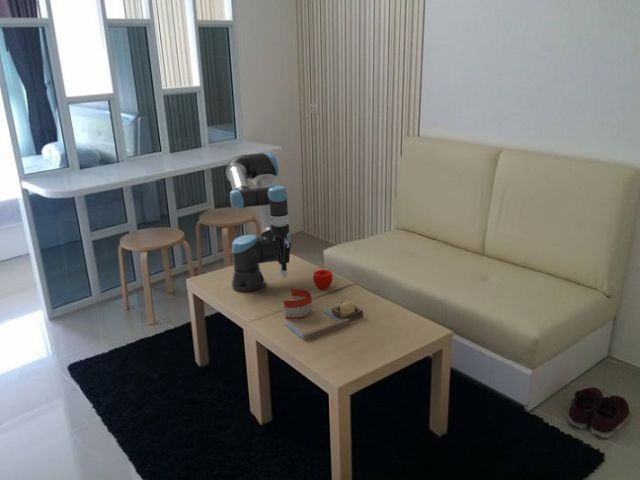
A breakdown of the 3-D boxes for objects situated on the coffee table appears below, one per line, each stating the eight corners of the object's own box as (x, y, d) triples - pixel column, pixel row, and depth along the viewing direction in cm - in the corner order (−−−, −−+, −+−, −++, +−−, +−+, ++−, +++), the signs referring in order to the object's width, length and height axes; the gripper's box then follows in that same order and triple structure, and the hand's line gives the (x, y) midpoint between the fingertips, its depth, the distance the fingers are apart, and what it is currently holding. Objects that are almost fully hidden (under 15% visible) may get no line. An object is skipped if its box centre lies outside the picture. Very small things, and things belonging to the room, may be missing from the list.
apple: (336, 288, 258) (336, 272, 256) (320, 293, 254) (319, 277, 251) (326, 282, 266) (325, 266, 263) (310, 287, 261) (309, 271, 259)
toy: (309, 321, 231) (308, 303, 228) (284, 319, 233) (282, 302, 230) (315, 307, 242) (314, 290, 240) (291, 305, 244) (290, 288, 242)
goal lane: (285, 325, 228) (284, 319, 228) (327, 310, 239) (327, 305, 238) (305, 340, 216) (304, 335, 215) (349, 325, 226) (349, 319, 225)
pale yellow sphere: (337, 314, 234) (336, 301, 232) (349, 310, 237) (348, 297, 235) (345, 320, 229) (345, 306, 227) (357, 315, 232) (357, 302, 230)
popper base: (332, 315, 235) (332, 308, 234) (350, 309, 239) (350, 302, 238) (344, 323, 227) (344, 316, 226) (363, 317, 232) (363, 310, 231)
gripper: (264, 222, 239) (268, 274, 247) (279, 229, 228) (283, 283, 236) (280, 218, 243) (283, 270, 250) (295, 225, 232) (298, 279, 240)
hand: (283, 276), depth 243 cm, fingers closed
